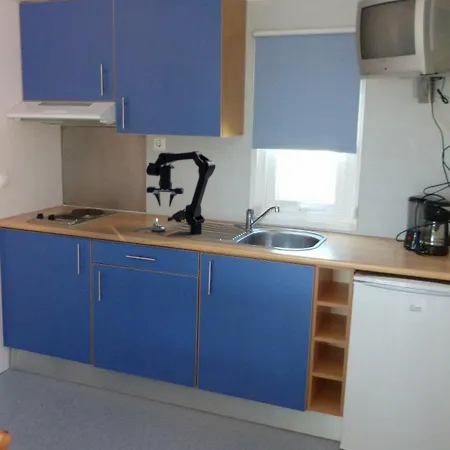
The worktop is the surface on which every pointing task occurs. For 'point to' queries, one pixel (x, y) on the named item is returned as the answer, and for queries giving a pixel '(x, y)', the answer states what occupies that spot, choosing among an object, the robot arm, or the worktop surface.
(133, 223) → the worktop surface
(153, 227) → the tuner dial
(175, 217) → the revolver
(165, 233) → the board
